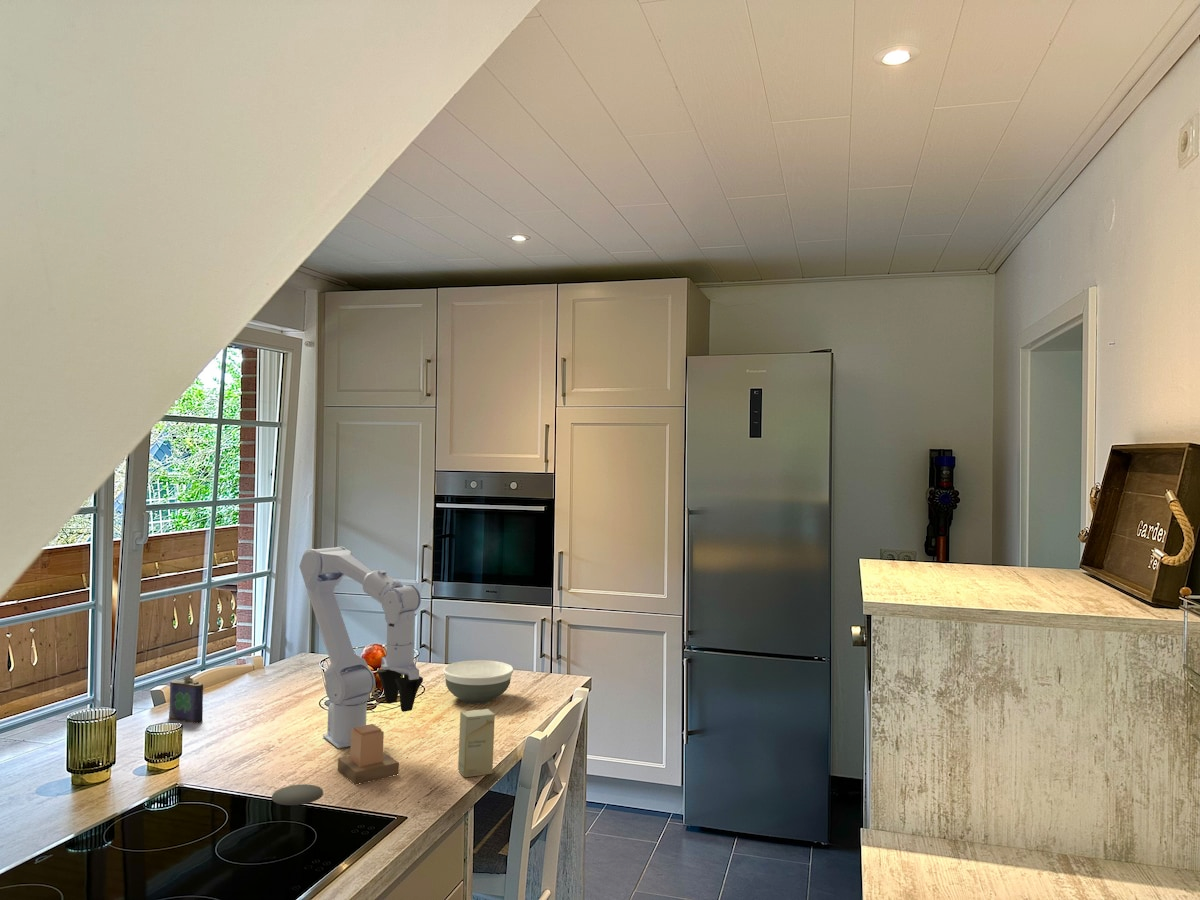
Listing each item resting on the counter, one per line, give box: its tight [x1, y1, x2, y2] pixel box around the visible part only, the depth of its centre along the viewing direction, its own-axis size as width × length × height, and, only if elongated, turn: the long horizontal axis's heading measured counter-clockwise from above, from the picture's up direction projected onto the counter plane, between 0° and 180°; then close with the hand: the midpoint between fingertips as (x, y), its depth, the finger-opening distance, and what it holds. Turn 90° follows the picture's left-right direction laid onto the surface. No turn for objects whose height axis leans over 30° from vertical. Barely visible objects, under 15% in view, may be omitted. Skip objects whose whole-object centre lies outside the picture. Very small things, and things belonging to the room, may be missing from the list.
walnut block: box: [337, 751, 400, 786], centre depth 165 cm, size 9×9×3 cm
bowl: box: [442, 659, 514, 705], centre depth 217 cm, size 19×19×8 cm
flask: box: [168, 674, 204, 724], centre depth 194 cm, size 9×3×11 cm, turn 71°
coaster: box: [271, 783, 324, 806], centre depth 153 cm, size 9×9×1 cm
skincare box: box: [457, 708, 496, 778], centre depth 167 cm, size 6×4×12 cm
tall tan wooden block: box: [349, 723, 385, 767], centre depth 165 cm, size 5×5×6 cm
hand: (398, 706), depth 175 cm, fingers open, 7 cm apart
